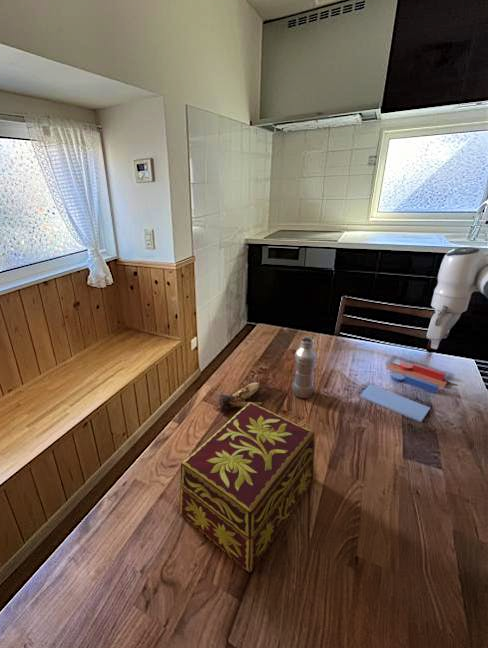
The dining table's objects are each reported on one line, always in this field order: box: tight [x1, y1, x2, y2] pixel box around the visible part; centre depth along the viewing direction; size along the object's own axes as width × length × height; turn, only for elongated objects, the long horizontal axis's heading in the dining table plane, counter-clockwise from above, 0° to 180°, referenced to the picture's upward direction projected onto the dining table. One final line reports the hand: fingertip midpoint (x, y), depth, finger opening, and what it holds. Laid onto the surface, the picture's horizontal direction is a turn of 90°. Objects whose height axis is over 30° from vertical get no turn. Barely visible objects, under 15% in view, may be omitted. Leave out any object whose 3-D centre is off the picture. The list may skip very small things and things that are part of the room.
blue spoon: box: [390, 372, 439, 395], centre depth 110 cm, size 13×4×2 cm, turn 42°
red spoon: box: [399, 361, 447, 381], centre depth 114 cm, size 13×4×2 cm, turn 42°
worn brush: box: [217, 381, 263, 413], centre depth 106 cm, size 9×5×18 cm
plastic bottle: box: [291, 336, 318, 399], centre depth 105 cm, size 6×7×20 cm
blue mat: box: [359, 384, 431, 423], centre depth 102 cm, size 17×8×1 cm, turn 42°
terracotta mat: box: [386, 362, 449, 389], centre depth 115 cm, size 17×8×1 cm, turn 42°
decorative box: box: [179, 401, 315, 573], centre depth 74 cm, size 28×19×15 cm
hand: (439, 342), depth 107 cm, fingers open, 8 cm apart
